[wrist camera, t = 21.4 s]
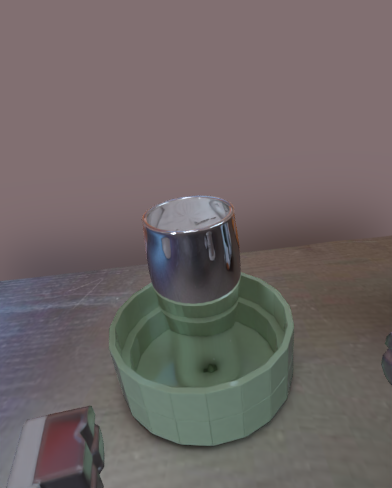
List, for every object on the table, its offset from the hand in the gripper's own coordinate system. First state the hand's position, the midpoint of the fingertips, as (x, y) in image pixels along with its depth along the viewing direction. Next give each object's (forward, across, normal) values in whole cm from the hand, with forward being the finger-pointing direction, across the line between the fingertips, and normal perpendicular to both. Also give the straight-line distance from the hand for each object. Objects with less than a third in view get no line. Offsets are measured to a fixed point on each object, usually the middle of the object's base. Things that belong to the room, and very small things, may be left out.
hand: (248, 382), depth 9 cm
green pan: (+16, -1, +17) cm, 24 cm away
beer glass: (+16, -1, +17) cm, 23 cm away
